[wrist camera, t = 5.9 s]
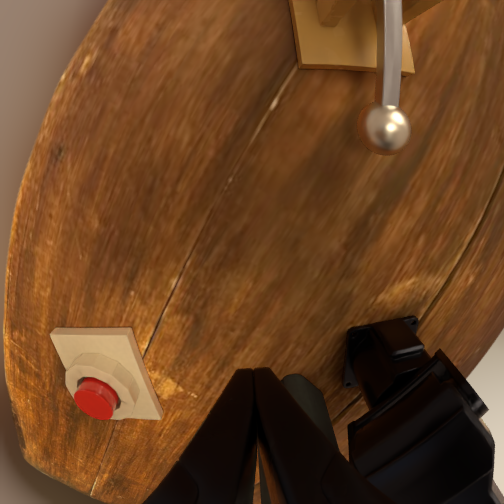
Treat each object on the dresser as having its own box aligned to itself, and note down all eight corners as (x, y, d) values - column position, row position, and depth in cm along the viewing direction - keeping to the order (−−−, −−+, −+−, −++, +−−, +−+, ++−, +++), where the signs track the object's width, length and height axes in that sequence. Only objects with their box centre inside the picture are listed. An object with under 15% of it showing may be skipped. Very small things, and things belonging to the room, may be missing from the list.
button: (124, 407, 21) (119, 422, 20) (90, 404, 21) (84, 417, 20) (109, 377, 20) (102, 392, 19) (74, 375, 20) (66, 388, 19)
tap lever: (392, 143, 17) (416, 165, 14) (347, 142, 17) (367, 165, 14) (396, -46, 8) (425, -53, 6) (344, -57, 8) (367, -71, 6)
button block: (163, 411, 25) (157, 434, 22) (94, 406, 25) (85, 426, 22) (131, 326, 22) (119, 349, 19) (55, 327, 22) (39, 345, 19)
